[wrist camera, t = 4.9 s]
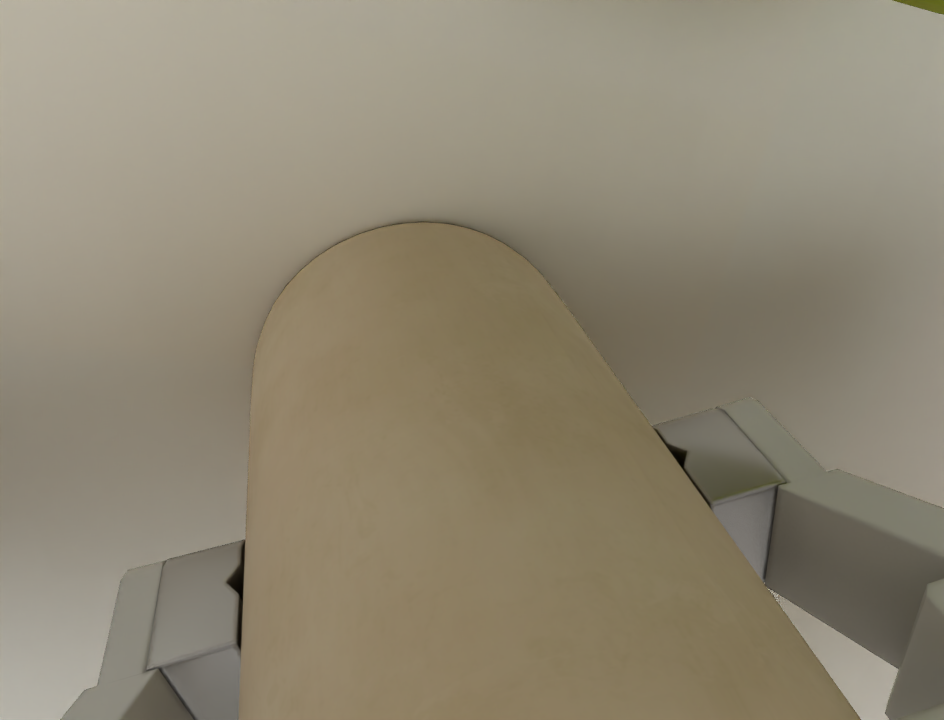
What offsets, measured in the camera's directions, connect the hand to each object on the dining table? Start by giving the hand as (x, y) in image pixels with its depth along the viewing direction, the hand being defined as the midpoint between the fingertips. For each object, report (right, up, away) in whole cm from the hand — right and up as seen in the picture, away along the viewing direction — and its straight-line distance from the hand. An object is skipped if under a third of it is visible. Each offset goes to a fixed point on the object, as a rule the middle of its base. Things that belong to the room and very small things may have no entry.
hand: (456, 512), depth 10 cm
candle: (-1, +2, +3) cm, 4 cm away
